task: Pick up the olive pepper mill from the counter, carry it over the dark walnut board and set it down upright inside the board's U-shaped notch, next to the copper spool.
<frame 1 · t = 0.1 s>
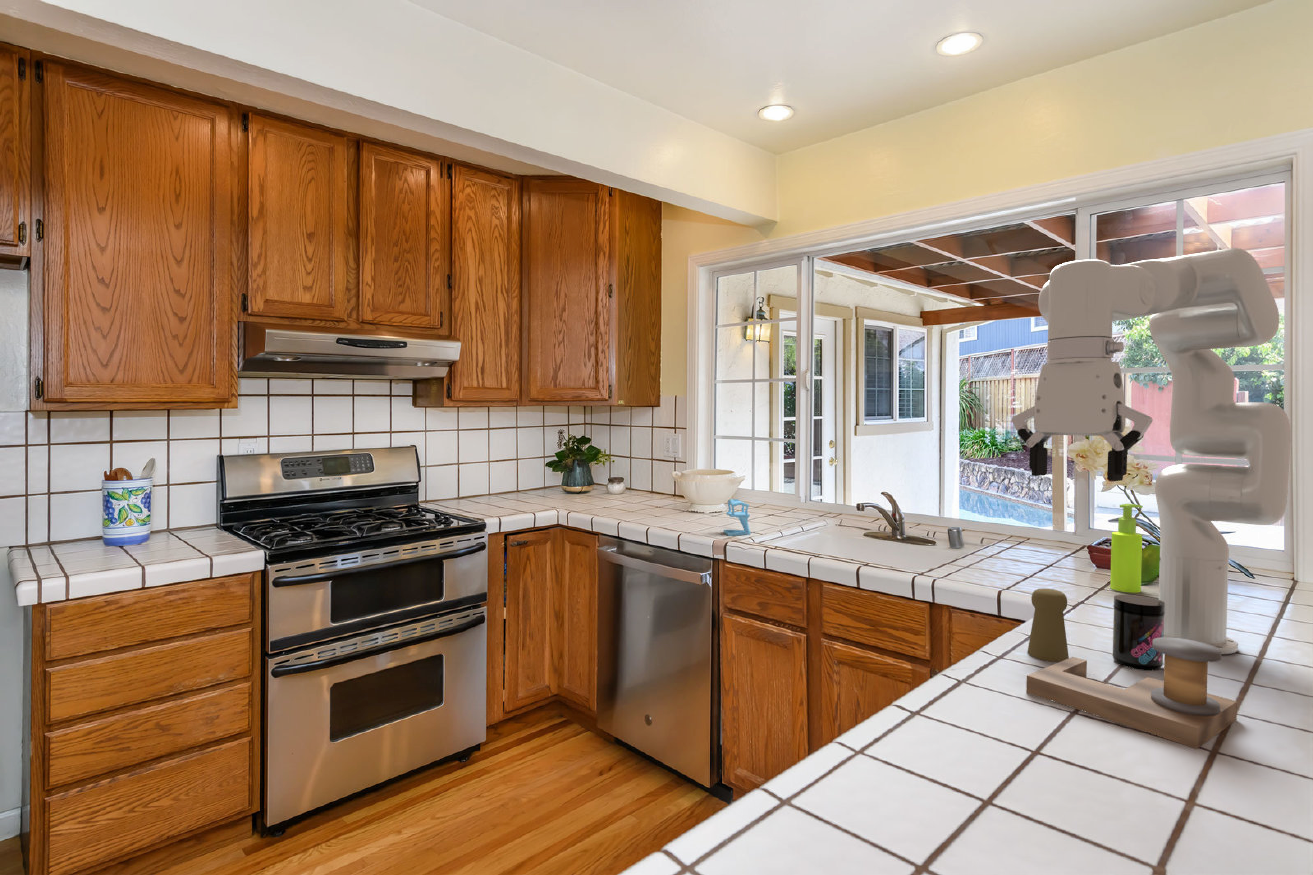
hand: (1075, 477, 94), 31 cm above the countertop, tool pointing down, fingers open, 9 cm apart
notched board: (1126, 705, 93), on the countertop
supplement container: (1137, 665, 109), on the countertop
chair: (737, 534, 232), on the countertop
soap dispenser: (1126, 590, 159), on the countertop
olive pepper mill: (1047, 656, 113), on the countertop
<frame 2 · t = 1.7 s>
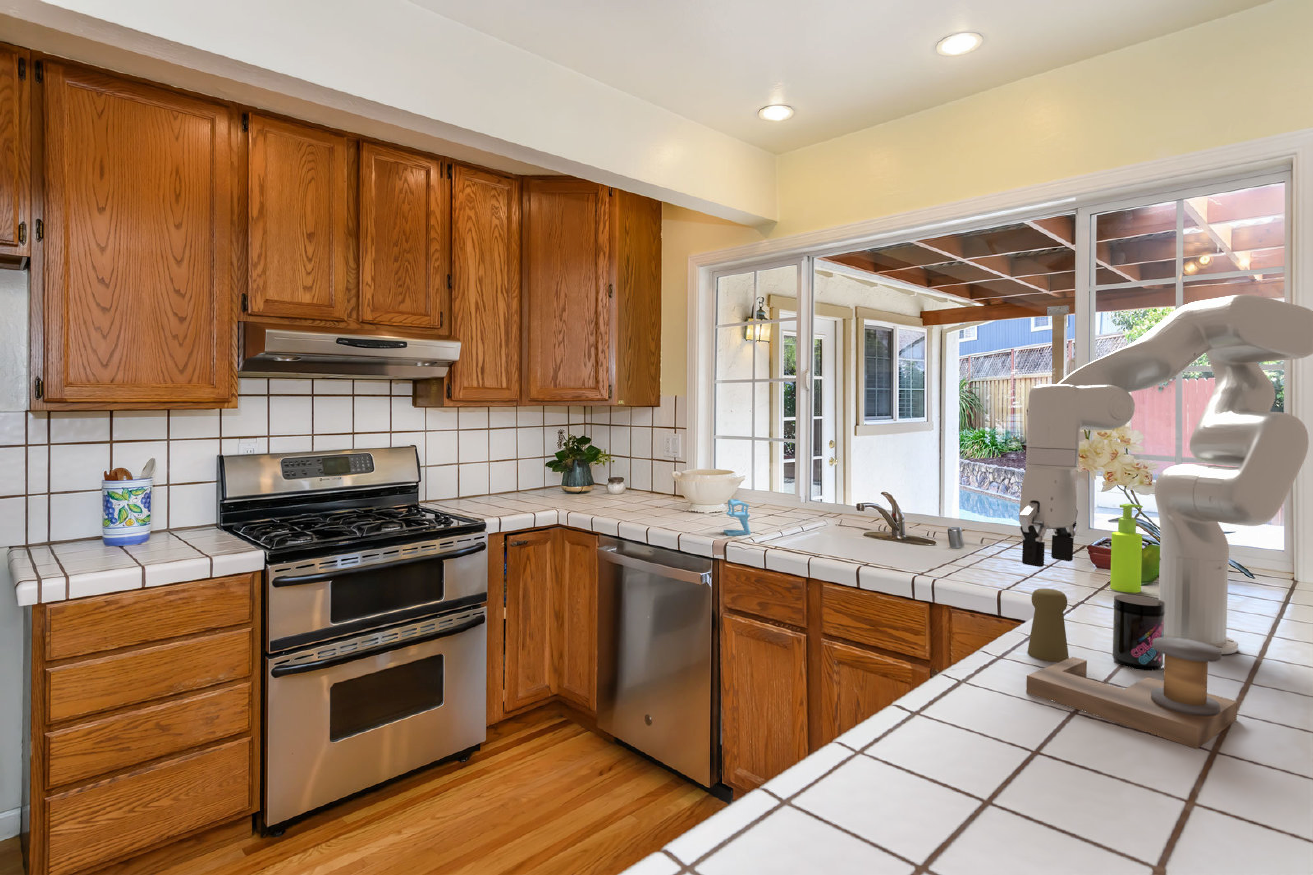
hand: (1047, 562, 112), 16 cm above the countertop, tool pointing down, fingers open, 9 cm apart
nothing on the countertop moved.
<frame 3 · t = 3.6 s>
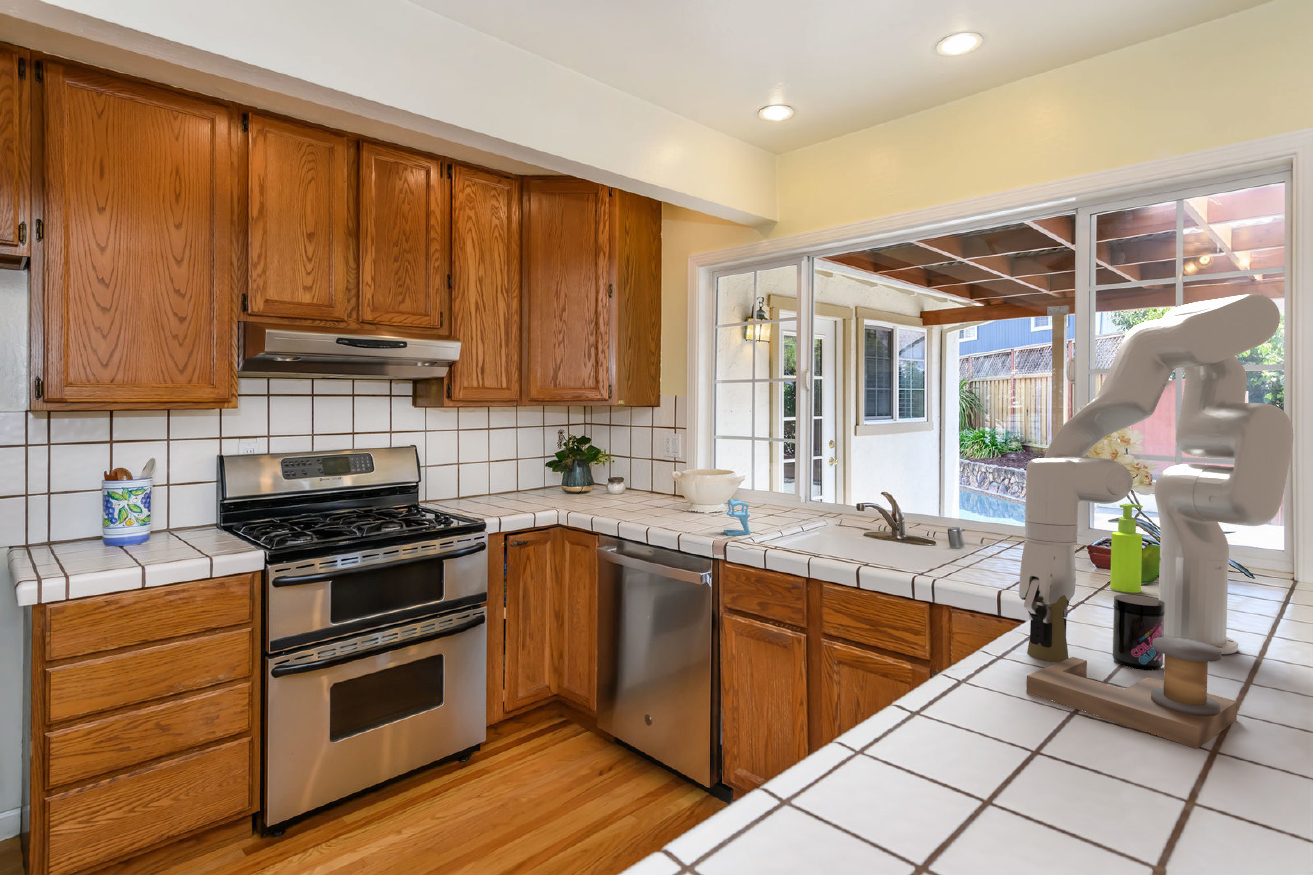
hand: (1048, 641, 113), 2 cm above the countertop, tool pointing down, fingers closed on olive pepper mill, 4 cm apart
olive pepper mill: (1047, 656, 113), on the countertop, touching gripper
everything else where it was.
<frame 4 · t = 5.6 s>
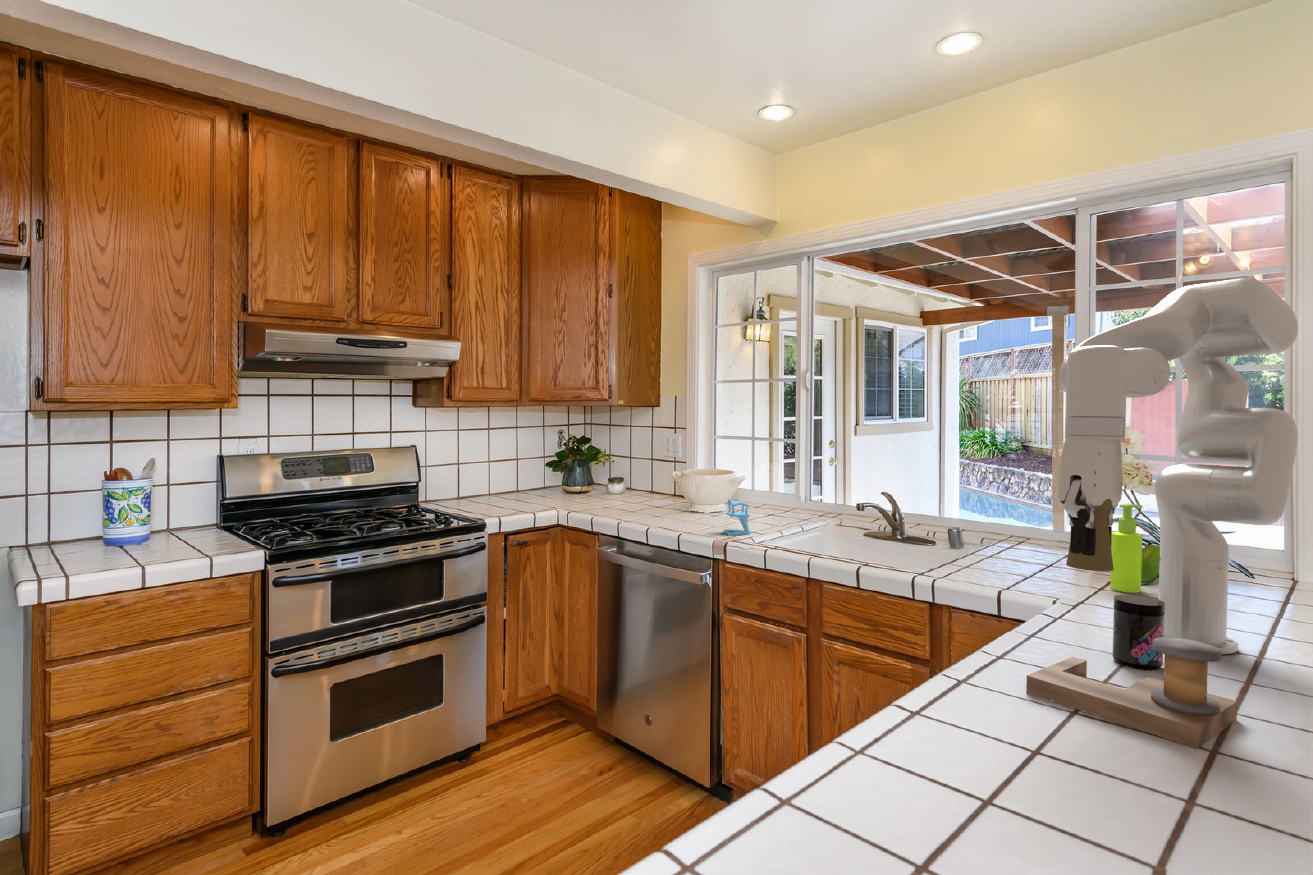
hand: (1090, 551, 101), 20 cm above the countertop, tool pointing down, fingers closed on olive pepper mill, 4 cm apart
olive pepper mill: (1089, 568, 101), point 17 cm above the countertop, touching gripper
everything else where it was.
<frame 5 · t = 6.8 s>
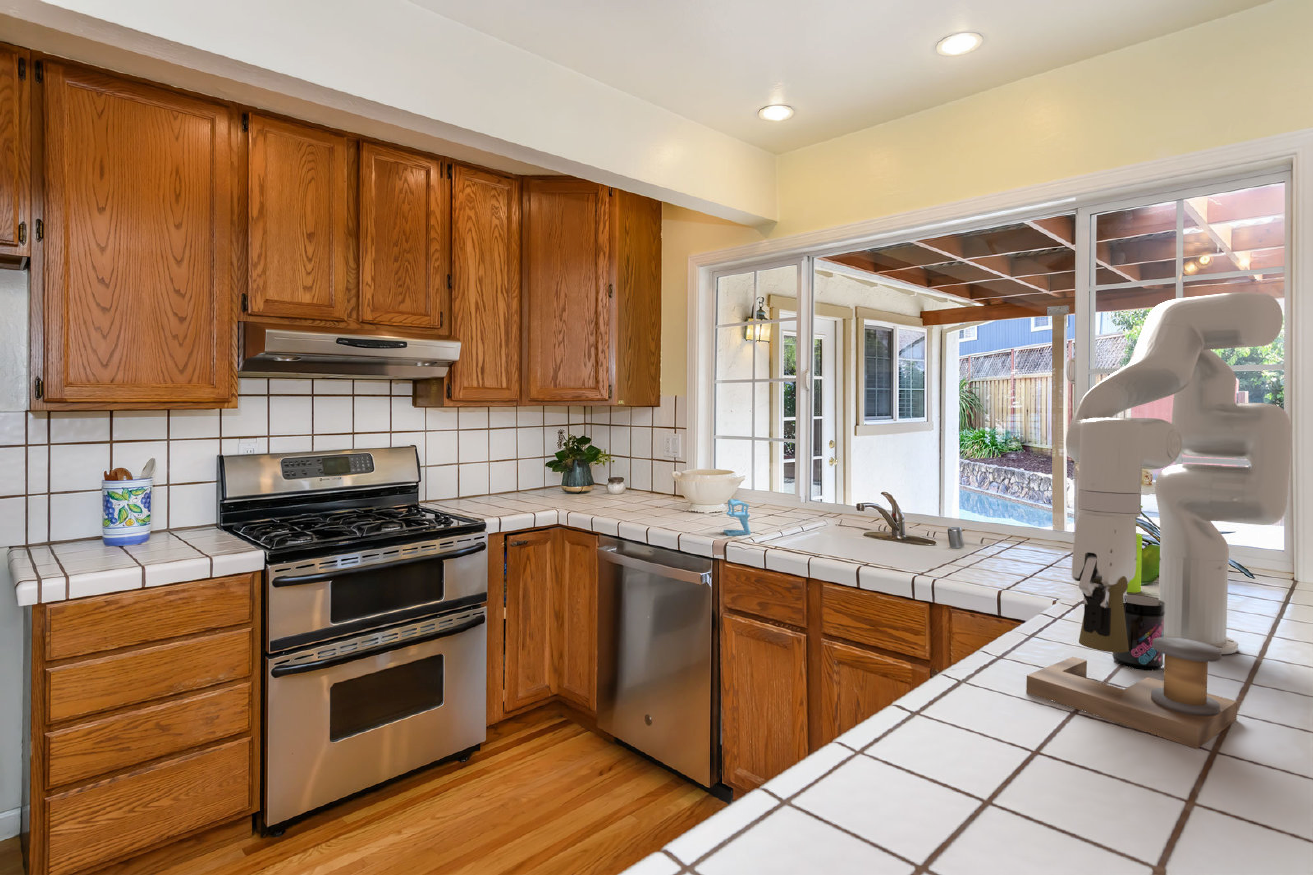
hand: (1104, 629, 97), 9 cm above the countertop, tool pointing down, fingers closed on olive pepper mill, 4 cm apart
olive pepper mill: (1103, 647, 98), point 7 cm above the countertop, touching gripper
everything else where it was.
when the fingers open (3 cm above the countertop, at t = 7.9 s): olive pepper mill stays where it is, on the countertop.
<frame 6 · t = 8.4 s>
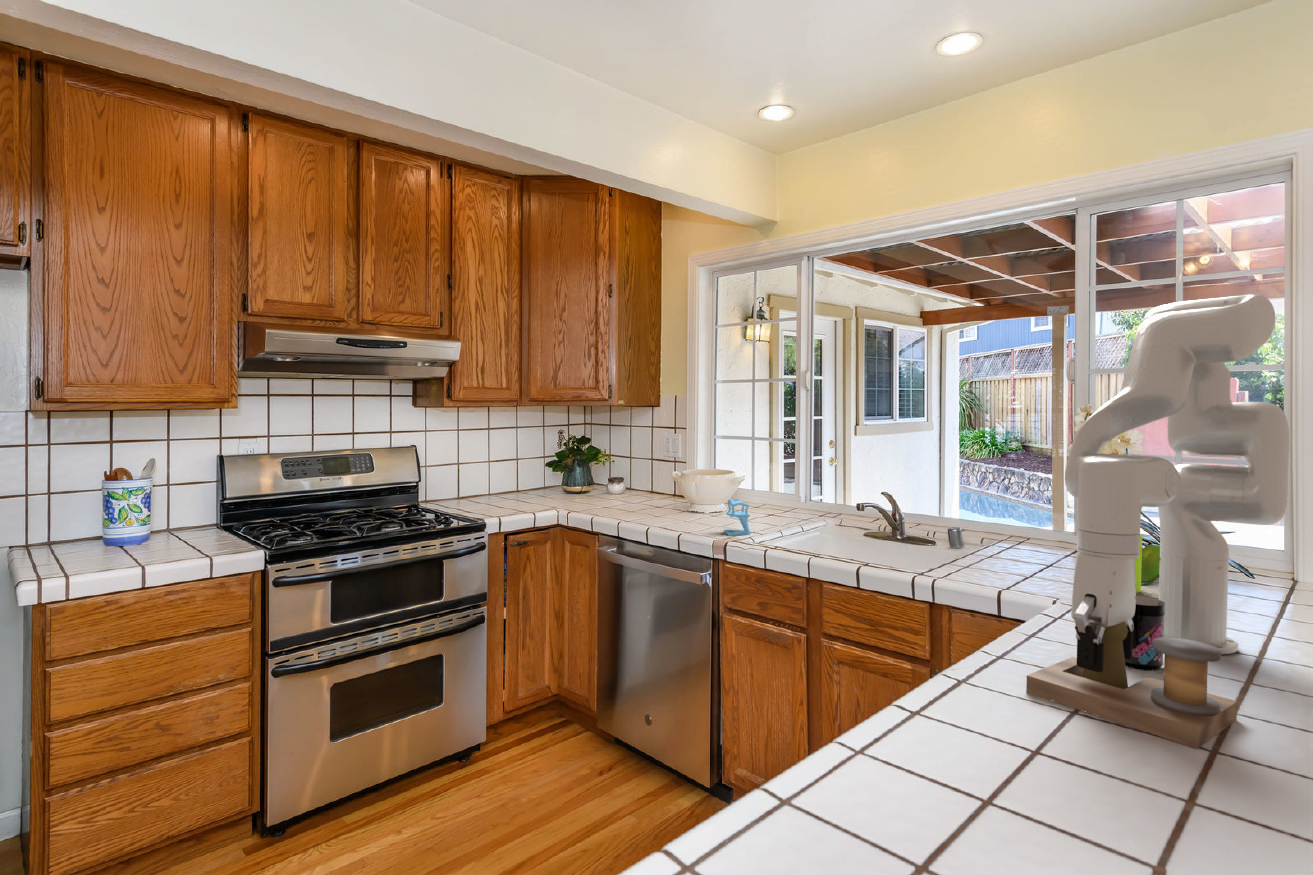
hand: (1104, 662, 98), 4 cm above the countertop, tool pointing down, fingers open, 9 cm apart
olive pepper mill: (1104, 692, 98), on the countertop
everything else where it was.
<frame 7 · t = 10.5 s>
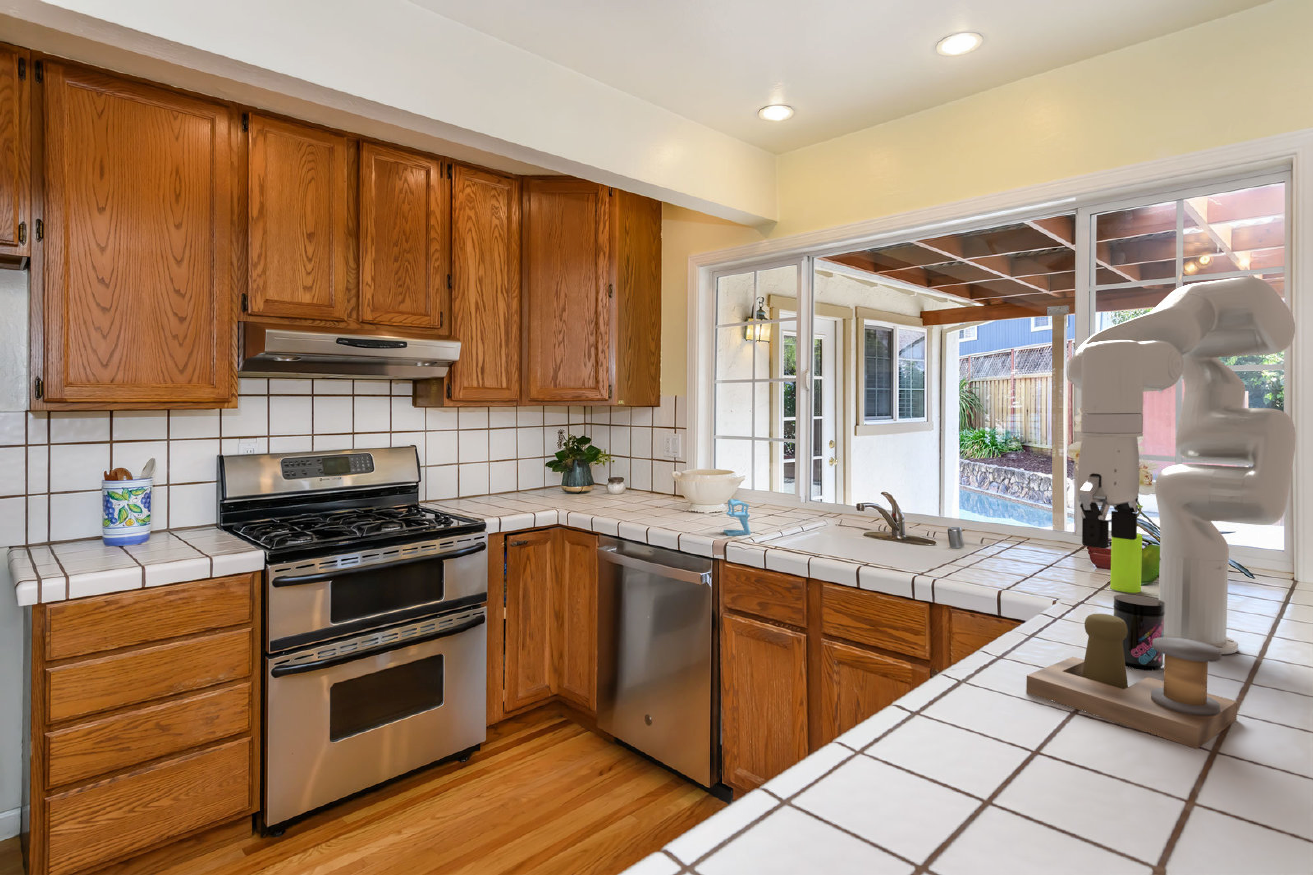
hand: (1109, 542, 100), 21 cm above the countertop, tool pointing down, fingers open, 9 cm apart
nothing on the countertop moved.
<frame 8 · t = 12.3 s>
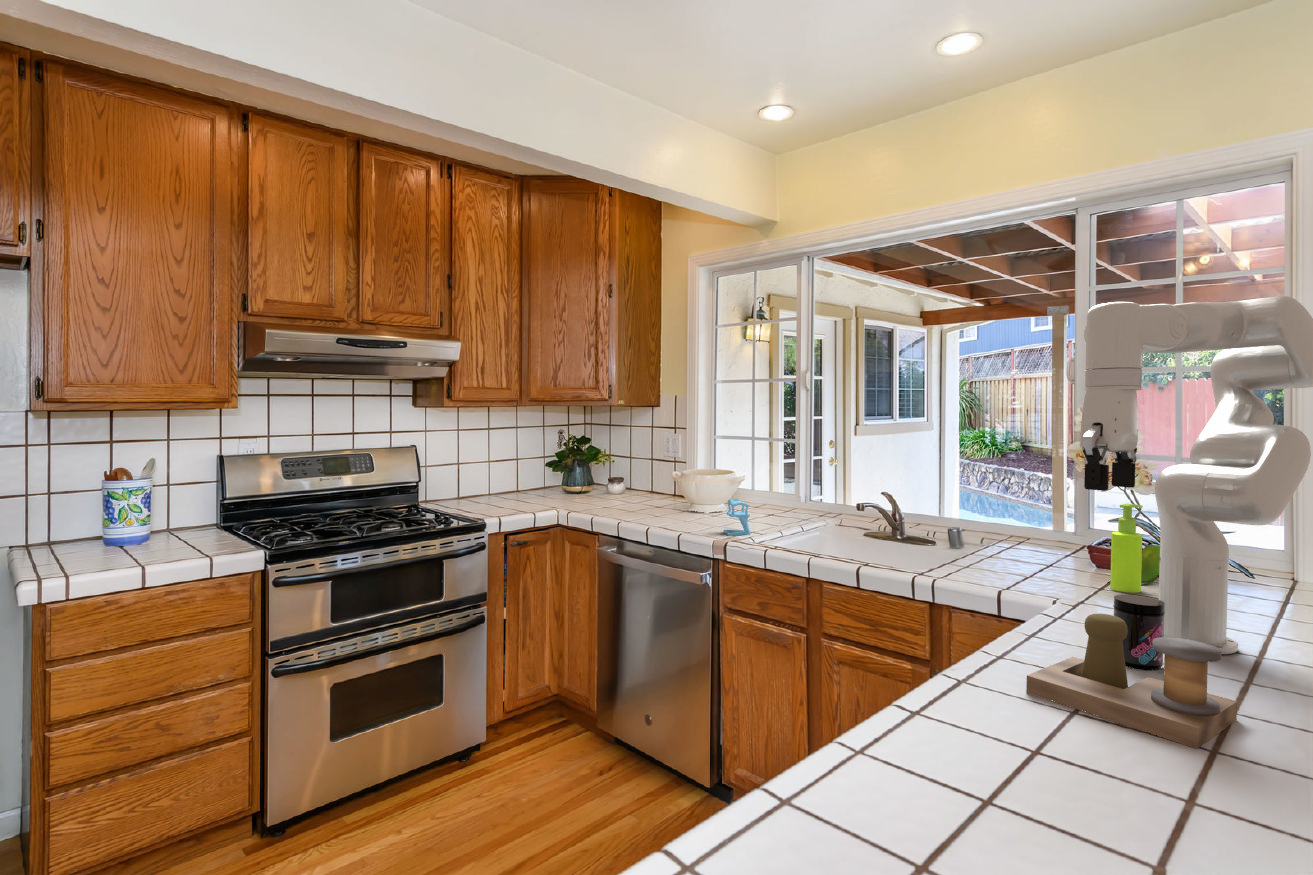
hand: (1109, 488, 109), 28 cm above the countertop, tool pointing down, fingers open, 9 cm apart
nothing on the countertop moved.
at the end: olive pepper mill 0.2 cm from the target spot on the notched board, point 0.0 cm above the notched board's base; olive pepper mill tilted 0°; the gripper is holding nothing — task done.
